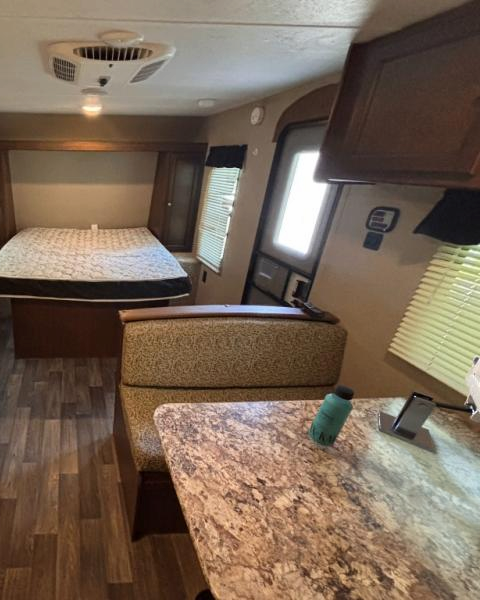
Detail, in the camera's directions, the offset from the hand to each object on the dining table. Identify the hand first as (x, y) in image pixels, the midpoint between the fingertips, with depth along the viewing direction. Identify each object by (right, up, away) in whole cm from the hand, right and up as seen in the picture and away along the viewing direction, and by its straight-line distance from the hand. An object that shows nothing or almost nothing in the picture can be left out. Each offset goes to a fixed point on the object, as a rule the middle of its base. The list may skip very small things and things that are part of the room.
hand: (471, 413), depth 88 cm
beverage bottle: (-39, -11, +6) cm, 41 cm away
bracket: (-8, -10, +11) cm, 17 cm away
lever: (-4, 0, +3) cm, 5 cm away
